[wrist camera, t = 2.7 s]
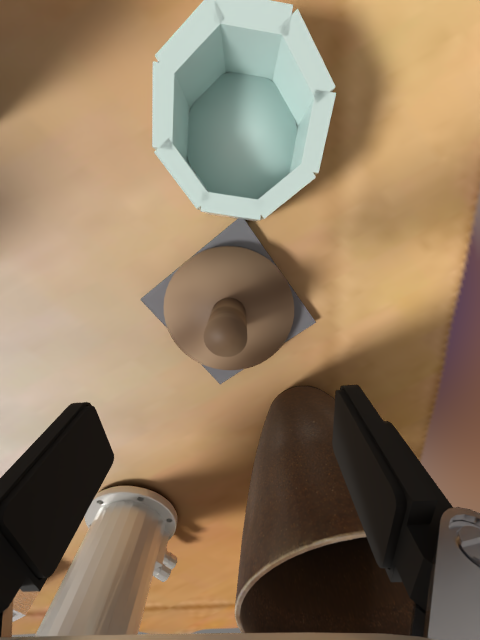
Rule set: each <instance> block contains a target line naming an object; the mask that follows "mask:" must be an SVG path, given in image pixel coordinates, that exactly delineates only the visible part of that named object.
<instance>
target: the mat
mask: <svg viewBox="0 0 480 640" xmlns="http://www.w3.org/2000/svg"><path fill="white" fill-rule="evenodd" d="M219 246H238V247H243V248H247V249H250V250H253V251H255V252H257V253H259V254H261V255H263V256H264V257H266V258H267V259H269V260H270V261H271V262H272V263H273V264H274V265H275V266H276V264H275V263H274V261H273V260H272V259H271V257H270V256H269V254H268V253H267V251H266V250H265V249H264V247H263V246H262V244H261V243H260V241H259V240H258V239H257V237H256V236H255V234H254V233H253V231H252V230H251V228H250V227H249V226H248V224H247V223H246V221H245V220H244V219H237V220H236V221H235V222H233V223H232V224H231V225H230V226H228V227H227V228H226V229H225V230H224V231H222V232H221V233H220V234H219V235H218V236H216V237H215V238H214V239H213V240H212V241H210V242H209V243H208V244H207V245H205V246H204V247H203V248H202V249H201V250H199V251H198V252H197V253H196V254H198V253H200V252H202V251H204V250H207V249H210V248H214V247H219ZM196 254H195V255H196ZM193 256H194V255H193ZM193 256H192V257H193ZM276 267H277V266H276ZM277 268H278V267H277ZM177 270H178V269H176V270H175V271H174V272H173V273H172V274H170V275H169V276H168V277H167V278H166V279H164V280H163V281H162V282H161V283H159V284H158V285H157V286H156V287H155V288H153V289H152V290H151V291H150V292H149V293H147V294H146V295H145V296H144V297H143V298H141V299H140V300H141V301H142V302H143V303H144V304H145V305H146V306H147V307H148V308H149V309H150V310H151V311H152V312H153V313H154V315H155V316H156V317H157V318H158V319H159V320H160V321H161V322H162V323H163V324H164V325H165V326H166V327H167V325H166V322H165V317H164V297H165V293H166V289H167V287H168V284H169V282H170V280H171V278H172V277H173V275H174V273H175V272H176V271H177ZM280 272H281V271H280ZM288 284H289V283H288ZM289 287H290V289H291V292H292V296H293V300H294V319H293V324H292V327H291V331H290V333H289V335H288V337H287V339H286V340H285V342H286V341H288V340H289V339H291V338H292V337H294V336H296V335H297V334H299V333H300V332H302V331H303V330H305V329H306V328H308V327H309V326H311V325H313V324H314V323H316V322H315V320H314V319H313V317H312V316H311V314H310V313H309V312H308V310H307V309H306V307H305V306H304V304H303V303H302V302H301V300H300V299H299V297H298V296H297V294H296V293H295V292H294V290H293V289H292V287H291V286H290V284H289ZM285 342H284V343H285ZM202 366H203V367H204V368H205V369H206V370H207V371H208V372H209V373H210V374H211V375H212V376H213V377H214V378H215V379H216V380H217V382H218V383H219V384H221V383H223V382H225V381H226V380H228V379H229V378H231V377H232V376H234V375H235V374H237V373H238V372H240V371H242V370H243V369H240V370H220V369H215V368H211V367H208V366H205V365H203V364H202Z"/></svg>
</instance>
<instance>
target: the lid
mask: <svg viewBox="0 0 480 640" xmlns="http://www.w3.org/2000/svg"><path fill="white" fill-rule="evenodd" d="M164 317H165V322H166V325H167V328H168V331H169V333H170V335H171V337H172V338H173V340H174V342H175V343H176V344H177V346H178V347H179V348H180V349H181V350H182V351H183V352H184V353H185V354H186V355H188V356H189V357H190V358H192V359H193V360H195V361H197V362H198V363H200V364H203V365H205V366H208V367H211V368H215V369H220V370H240V369H246V368H249V367H253V366H255V365H258V364H260V363H262V362H263V361H265V360H267V359H268V358H270V357H271V356H272V355H273V354H275V353H276V352H277V351H278V350H279V349H280V347H281V346H282V345H283V344H284V342H285V340H286V339H287V337H288V335H289V333H290V331H291V327H292V324H293V319H294V300H293V296H292V292H291V289H290V287H289V284H288V282H287V280H286V279H285V277H284V275H283V274H282V273H281V272H280V270H279V269H278V268H277V267H276V266H275V265H274V264H273V263H272V262H271V261H270V260H269V259H267V258H266V257H264V256H263V255H261V254H259V253H257V252H255V251H253V250H250V249H247V248H243V247H238V246H219V247H214V248H210V249H207V250H204V251H202V252H200V253H198V254H196V255H194V256H193V257H191V258H190V259H188V260H187V261H186V262H185V263H183V264H182V265H181V266H180V267H179V268H178V270H177V271H176V272H175V273H174V275H173V277H172V278H171V280H170V282H169V284H168V287H167V289H166V293H165V297H164Z"/></svg>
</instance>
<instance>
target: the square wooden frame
mask: <svg viewBox="0 0 480 640" xmlns="http://www.w3.org/2000/svg"><path fill="white" fill-rule="evenodd" d="M38 592H39V591H32V592H22V591H21V589H19V591H18V592H17V594H16V596H15V597H14V599H13V618H12V622H13V621H15V620H17V619H19V618H21V617H23V616H26V614H27V612H28V610H29V609H30V607H31V605H32V603H33V601H34V600H35V598H36V596H37V594H38Z"/></svg>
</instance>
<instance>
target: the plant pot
mask: <svg viewBox="0 0 480 640" xmlns="http://www.w3.org/2000/svg"><path fill="white" fill-rule="evenodd" d="M334 408H335V399H334V398H332V397H331V396H329V395H328V394H326V393H325V392H323V391H322V390H320V389H318V388H314V387H310V386H298V387H293V388H290V389H288V390H286V391H284V392H282V393H281V394H280V395H279V396H277V397H276V399H275V400H274V401H273V403H272V405H271V407H270V410H269V412H268V415H267V418H266V421H265V424H264V427H263V430H262V433H261V437H260V441H259V444H258V448H257V452H256V457H255V462H254V466H253V471H252V477H251V482H250V488H249V494H248V501H247V507H246V514H245V521H244V528H243V536H242V545H241V555H240V565H239V574H238V584H237V594H236V604H235V618H236V622H237V625H238V627H239V629H240V631H241V633H378V634H393V635H405V636H409V631H410V624H411V618H412V611H413V605H414V601H413V600H411V599H410V598H409V595H408V593H407V591H406V588H405V586H404V584H403V582H390V580H389V577H388V575H387V572H386V570H385V568H380V567H379V566H378V564H377V562H376V560H375V558H374V555H373V552H372V550H371V547H370V545H369V542H368V539H367V537H366V534H365V532H364V529H363V527H362V524H361V521H360V519H359V516H358V514H357V511H356V508H355V506H354V503H353V501H352V498H351V495H350V493H349V490H348V488H347V485H346V483H345V480H344V477H343V475H342V472H341V470H340V467H339V464H338V462H337V459H336V457H335V454H334V451H333V446H332V437H333V422H334Z"/></svg>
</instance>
